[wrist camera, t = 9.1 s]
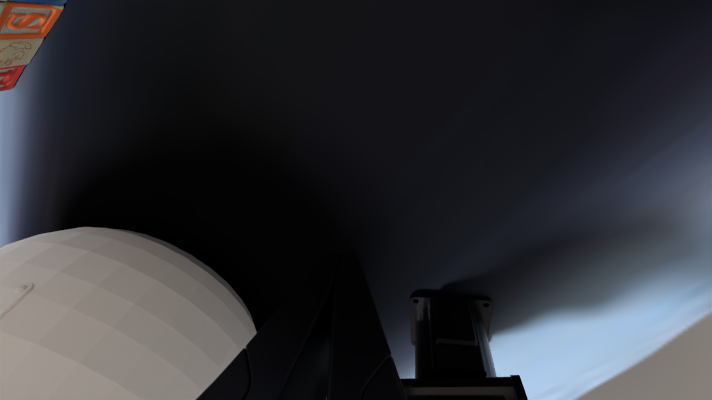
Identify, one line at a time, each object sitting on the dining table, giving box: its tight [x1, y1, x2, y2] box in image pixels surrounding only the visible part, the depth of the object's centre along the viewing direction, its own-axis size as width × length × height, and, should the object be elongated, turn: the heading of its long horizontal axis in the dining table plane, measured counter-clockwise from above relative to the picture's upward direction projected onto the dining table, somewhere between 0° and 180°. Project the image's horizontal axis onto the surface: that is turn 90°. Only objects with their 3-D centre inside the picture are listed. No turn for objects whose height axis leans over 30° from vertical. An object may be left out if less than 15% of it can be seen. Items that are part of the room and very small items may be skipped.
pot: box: [0, 227, 257, 400], centre depth 25 cm, size 29×26×17 cm
